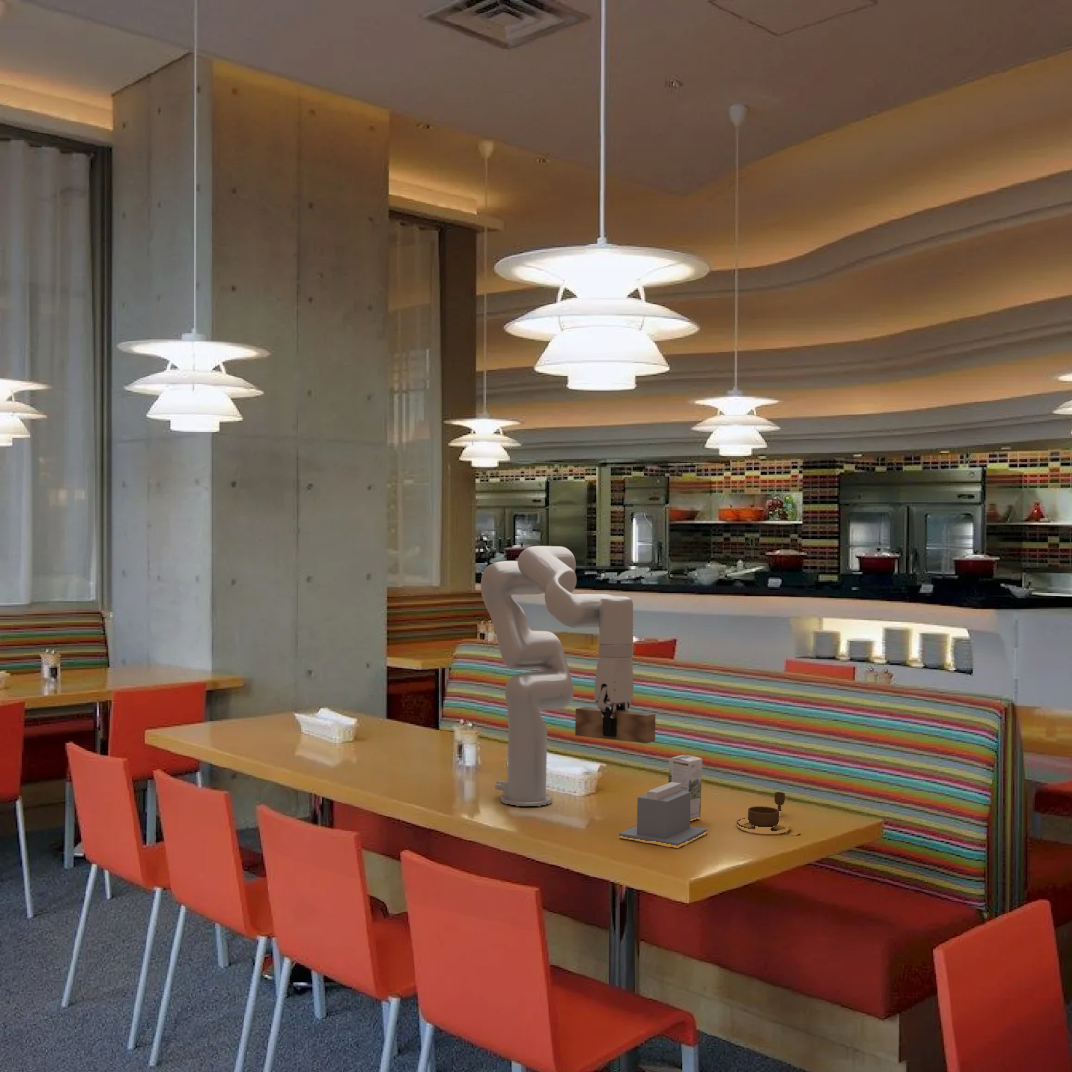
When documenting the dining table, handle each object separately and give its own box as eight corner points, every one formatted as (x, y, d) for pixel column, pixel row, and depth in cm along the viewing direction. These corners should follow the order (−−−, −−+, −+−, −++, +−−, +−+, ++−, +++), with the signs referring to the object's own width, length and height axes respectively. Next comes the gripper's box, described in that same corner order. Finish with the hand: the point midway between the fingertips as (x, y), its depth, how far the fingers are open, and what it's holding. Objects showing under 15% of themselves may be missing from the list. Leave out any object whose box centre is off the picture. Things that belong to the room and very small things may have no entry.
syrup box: (679, 815, 279) (681, 753, 279) (701, 819, 275) (702, 757, 275) (666, 819, 274) (667, 757, 274) (688, 824, 271) (689, 760, 270)
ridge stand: (619, 838, 256) (620, 788, 256) (650, 825, 269) (651, 777, 269) (677, 849, 249) (678, 797, 249) (707, 834, 261) (708, 785, 261)
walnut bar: (575, 735, 265) (575, 708, 265) (584, 733, 268) (584, 706, 268) (646, 743, 255) (646, 715, 255) (655, 741, 258) (655, 713, 258)
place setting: (716, 825, 272) (716, 800, 272) (777, 815, 283) (777, 790, 283) (772, 843, 257) (773, 816, 257) (834, 831, 269) (834, 805, 269)
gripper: (619, 648, 271) (618, 728, 271) (581, 653, 257) (580, 738, 257) (648, 650, 267) (647, 731, 267) (611, 655, 253) (610, 741, 253)
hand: (614, 733), depth 262 cm, fingers closed on walnut bar, 4 cm apart
